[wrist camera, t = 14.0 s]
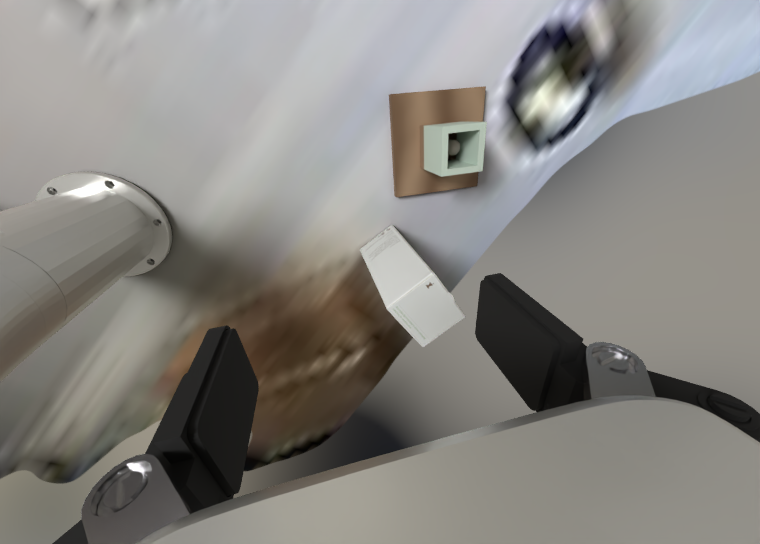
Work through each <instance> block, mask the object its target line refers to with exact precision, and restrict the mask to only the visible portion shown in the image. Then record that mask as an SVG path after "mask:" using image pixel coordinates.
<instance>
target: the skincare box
mask: <svg viewBox="0 0 760 544" xmlns="http://www.w3.org/2000/svg"><path fill="white" fill-rule="evenodd" d="M360 252H361V254H362V256H363V258H364V260H365V262H366V264H367V267H368V269H369V271H370V273H371V275H372V278H373V280H374V282H375V284H376V286H377V288H378V291H379V293H380V295H381V297H382V299H383V302H384V304H385V306H386V309H387V310H388V311H389V312H390V313H391V314H392V315H393V316H394V317H395V318H396V320H397V321H398V322H399V323H400V324H401V325H402V326H403V327H404V328H405V329H406V330H407V331H408V332H409V334H410V335H411V336H412V337H413V338H414V339H415V340H416V341H417V342H418V343H419V344H420V345H421V346H422V347H424V346H426V345H427V344H429V343H430V342H431V341H433V340H434V339H436V338H437V337H438V336H440V335H441V334H442V333H444V332H445V331H446V330H448V329H449V328H451V327H452V326H454V325H455V324H457V323H458V322H459V321H461V320H462V319H464V318H465V317H466V316H465V315H464V313H463V312H462V311H461V309H460V308H459V306H458V305H457V303H456V302H455V300H454V297H453V295H452V294H451V293H449V292H448V290H447V289H446V288H445V286H444V285H443V284H442V282H441V281H440V279H439V278H438V277H437V275H436V274H435V273H434V272H433V271H432V270H431V268H430V267H429V266H428V265H427V264H426V263H425V261H424V260H423V259H422V258H421V257H420V256H419V255H418V253H417V252H416V251H415V250H414V249H413V248H412V246H411V245H410V244H409V243H408V242H407V241H406V240H405V239H404V237H403V236H402V235H401V234H400V233H399V232H398V230H397V229H396V228H395V227H394V226H393V225H391V226H389V227H388V228H387V229H385V230H384V231H383V232H382V233H380V234H379V235H378V236H376V237H375V238H374V239H372V240H371V241H370V242H369V243H367V244H366V245H365V246H363V247H362V248H361V249H360Z"/></svg>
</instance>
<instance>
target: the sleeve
mask: <svg viewBox="0 0 760 544" xmlns="http://www.w3.org/2000/svg"><path fill="white" fill-rule="evenodd" d="M486 125H487V122H459V121H457V122H448V123H438V124H429V125H420V168H422V169H424V170H427V171H429V172H431V173H434V174H436V175H438V176H441V177H443V176H451V175H458V174H465V173H472V172H480V171H483V160H484V148H485V136H486ZM448 133H451V140H456V141H458V142H459V143H460V150H459V152H458V153H457V154H456V155H451V158H448Z"/></svg>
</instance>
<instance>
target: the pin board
mask: <svg viewBox="0 0 760 544" xmlns="http://www.w3.org/2000/svg"><path fill="white" fill-rule="evenodd" d="M485 88H486V87H474V88H462V89H450V90H438V91H425V92H413V93H401V94H391V95H389V103H390V121H391V140H392V158H393V176H394V194H395V196H396V197H402V196H409V195H416V194H423V193H430V192H437V191H445V190H452V189H459V188H466V187H473V186H477V183H478V172H472V173H465V174H458V175H451V176H443V177H441V176H438V175H436V174H434V173H431V172H429V171H427V170H424V169H422V168H420V125H429V124H438V123H448V122H457V121H459V122H483V112H484V100H485ZM459 150H460V143H459V142H458V141H456V140H451V133H448V158H451V155H456V154H457V153H458V152H459Z"/></svg>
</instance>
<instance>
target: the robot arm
mask: <svg viewBox="0 0 760 544" xmlns="http://www.w3.org/2000/svg"><path fill="white" fill-rule="evenodd" d="M112 182H113V183H114V184H115V185H114V184H113V183H112ZM159 220H160V221H161V222H160V221H159ZM171 244H172V232H171V226H170V224H169V221H168V219H167V217H166V215H165V213H164V212H163V210H162V209H161V207H160V206H159V205H158V204H157V203H156V202H155V201H154V199H153V198H151V197H150V196H149V195H148V194H147V193H146V192H144V191H143V190H142V189H140V188H138V187H137V186H135V185H134V184H132V183H130V182H128V181H126V180H123V179H121V178H119V177H116V176H112V175H109V174H105V173H99V172H92V171H91V172H75V173H69V174H65V175H62V176H59V177H56V178H54V179H52V180H51V181H49V182H47V183H46V184H45V185H44V186H43V187H42V188H41V189H40V190H39V192H38V194H37V196H36V199H35V201H33V202H30V203H27V204H23V205H20V206H17V207H13V208H10V209H6V210H3V211H0V382H1V381H2V380H3V379H4V378H5V377H7V376H8V375H9V374H10V373H11V372H12V371H13V370H14V369H15V368H16V367H17V366H18V365H19V364H20V363H21V362H23V361H24V360H25V359H26V358H27V357H28V356H29V355H30V354H32V353H33V352H34V351H35V350H36V349H37V348H38V347H40V346H41V345H42V344H43V343H44V342H46V341H47V340H48V339H49V338H50V337H51V336H53V335H54V334H55V333H56V332H58V331H59V330H60V329H61V328H62V327H64V326H65V325H66V324H67V323H68V322H70V321H71V320H72V319H73V318H74V317H76V316H77V315H78V314H79V313H80V312H81V311H83V310H84V309H85V308H86V307H87V306H89V305H90V304H91V303H92V302H93V301H94V300H96V299H97V298H98V297H99V296H100V295H102V294H103V293H104V292H105V291H106V290H107V289H109V288H110V287H111V286H112V285H113V284H115V283H116V282H117V281H118V280H119V279H120V278H122V277H127V276H135V275H139V274H143V273H146V272H148V271H150V270H152V269H153V268H155V267H156V266H158V265H159V264H160V263H161V262H162V261H163V260H164V259H165V257H166V256H167V254H168V253H169V251H170V248H171ZM475 334H476V338H477V340H478V341H479V343H480V344H481V345H482V347H483V348H484V349H485V350H486V352H487V353H488V354H489V356H490V357H491V358H492V360H493V361H494V362H495V364H496V365H497V366H498V367H499V369H500V370H501V371H502V373H503V374H504V375H505V377H506V378H507V379H508V381H509V382H510V383H511V384H512V386H513V387H514V388H515V390H516V391H517V392H518V393H519V395H520V396H521V398H522V399H523V400H524V401H525V403H526V404H527V405H528V407H529V408H530V409H532V410H534V411H535V410H536V412H537V413H533V414H529V415H525V416H522V417H518V418H514V419H511V420H507V421H504V422H500V423H496V424H493V425H489V426H486V427H482V428H478V429H474V430H471V431H467V432H464V433H460V434H456V435H453V436H449V437H445V438H442V439H439V440H435V441H431V442H427V443H424V444H420V445H417V446H413V447H409V448H406V449H402V450H399V451H395V452H392V453H388V454H385V455H381V456H378V457H374V458H370V459H367V460H363V461H360V462H357V463H353V464H349V465H346V466H342V467H339V468H335V469H332V470H328V471H325V472H321V473H318V474H314V475H311V476H307V477H304V478H300V479H297V480H293V481H290V482H286V483H283V484H280V485H277V486H273V487H270V488H266V489H263V490H260V491H257V492H253V493H250V494H247V495H244V496H241V497H237V498H233V495H234V494H236V493H238V492H239V490H240V487H241V482H242V476H243V471H244V465H245V460H246V455H247V449H248V444H249V438H250V433H251V428H252V422H253V417H254V412H255V406H256V401H257V395H258V381H257V378H256V376H255V374H254V371H253V369H252V367H251V364H250V362H249V359H248V357H247V355H246V352H245V350H244V348H243V345H242V343H241V341H240V338H239V336H238V333H237V331H236V330H235V329H230V327H229V326H222V327H217V328H212V329H209V330H208V331H207V333H206V335H205V337H204V340H203V342H202V344H201V346H200V348H199V350H198V352H197V354H196V356H195V358H194V360H193V363H192V365H191V367H190V369H189V371H188V373H186V374H185V375H184V376H183V378H182V380H181V382H180V384H179V386H178V388H177V390H176V392H175V394H174V396H173V398H172V400H171V402H170V404H169V406H168V408H167V410H166V412H165V414H164V416H163V419H162V421H161V423H160V425H159V427H158V429H157V431H156V433H155V435H154V437H153V439H152V441H151V443H150V445H149V447H148V449H147V451H146V453H145V454H142V455H136V456H135V457H132V458H129V459H127V460H125V461H123V462H122V463H120V464H118V465H117V466H115V467H114V468H112V469H111V470H110V471H109V472H108V473H107V474H105V475H104V476H103V477H102V478H101V479H100V480H99V481H98V482H97V483H96V485H95V486H94V487H93V488H92V490H91V491H90V493H89V494H88V496H87V497H86V499H85V502H84V504H83V507H82V510H81V514H82V515H81V516H82V517H81V519H82V520H80V521H79V522H78V523H77V524H76V525H74V526H73V527H72V528H71V529H70V530H68V531H67V532H66V533H65V534H64V535H62V536H61V537H60V538H59V539H58V540H57V541H55V542H54V543H53V544H760V414H759V413H758V412H757V411H756V410H755V409H753V408H752V407H751V406H749V405H747V404H746V403H744V402H743V401H741V400H739V399H737V398H735V397H733V396H731V395H728V394H726V393H723V392H720V391H717V390H714V389H710V388H706V387H703V386H699V385H696V384H693V383H689V382H686V381H682V380H679V379H675V378H672V377H668V376H665V375H662V374H658V373H654V372H651V371H648V370H647V369H646V366H645V365H644V363H643V361H642V360H641V359H640V358H639V357H638V356H637V355H635V354H634V353H632V352H631V351H629V350H628V349H625V348H623V347H621V346H618V345H615V344H612V343H605V342H595V343H593V344H590V345H589V346H588V347H587V346H585V345H584V344H583V343H582V341H583V338H582V337H580V336H579V335H578V334H577V333H575V332H574V331H573V330H571V329H570V328H569V327H568V326H566V325H565V324H564V323H563V322H562V321H560V320H559V319H558V318H557V317H555V316H554V315H553V314H552V313H550V312H549V311H548V310H546V309H545V308H544V307H543V306H541V305H540V304H539V303H538V302H537V301H535V300H534V299H533V298H531V297H530V296H529V295H528V294H526V293H525V292H524V291H523V290H521V289H520V288H519V287H518V286H516V285H515V284H514V283H513V282H511V281H510V280H509V279H508V278H506V277H505V276H504V275H503V274H501V273H498V274H493V275H488V276H485V278H484V280H482V281H481V284H480V293H479V302H478V312H477V320H476V331H475Z"/></svg>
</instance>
